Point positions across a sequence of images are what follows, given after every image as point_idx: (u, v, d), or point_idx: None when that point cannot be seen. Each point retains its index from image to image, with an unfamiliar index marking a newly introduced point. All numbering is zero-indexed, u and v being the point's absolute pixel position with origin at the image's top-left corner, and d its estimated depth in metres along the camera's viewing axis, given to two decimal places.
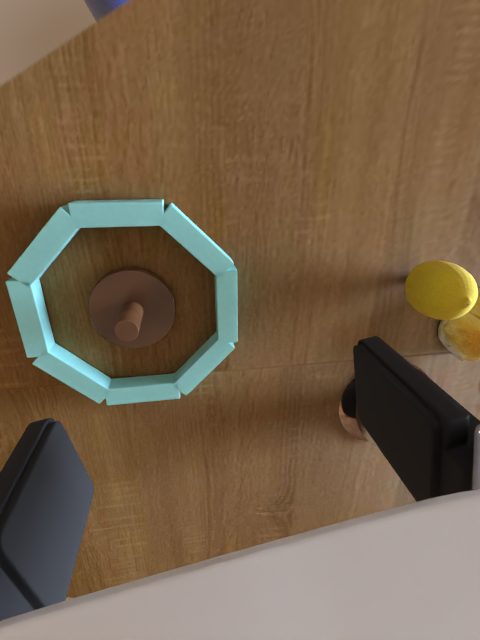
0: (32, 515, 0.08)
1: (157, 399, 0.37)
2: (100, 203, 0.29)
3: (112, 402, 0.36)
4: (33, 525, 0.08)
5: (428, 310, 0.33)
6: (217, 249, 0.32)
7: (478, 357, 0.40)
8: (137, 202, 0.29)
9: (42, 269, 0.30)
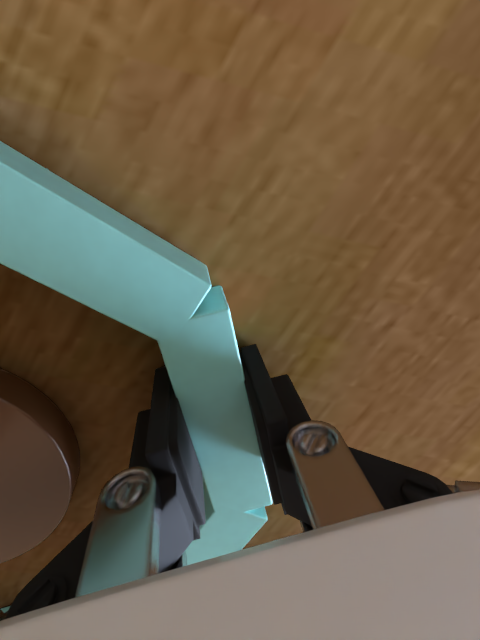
0: (183, 436, 0.09)
1: None
2: None
3: None
4: (185, 444, 0.09)
5: None
6: (260, 462, 0.11)
7: None
8: (134, 243, 0.08)
9: None
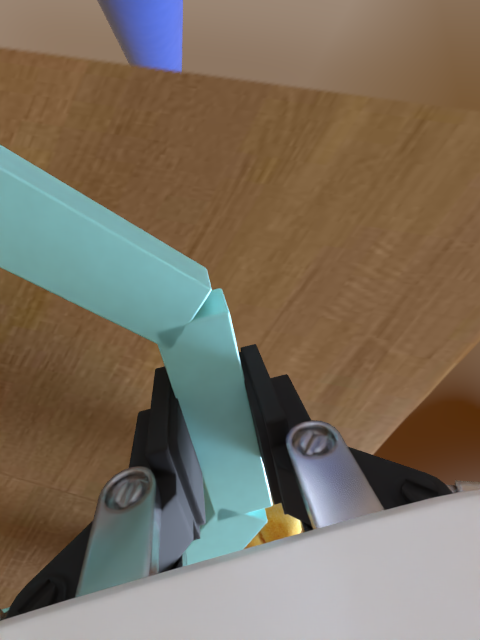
0: (183, 436, 0.09)
1: None
2: None
3: None
4: (185, 444, 0.09)
5: None
6: (260, 465, 0.11)
7: None
8: (135, 247, 0.08)
9: None
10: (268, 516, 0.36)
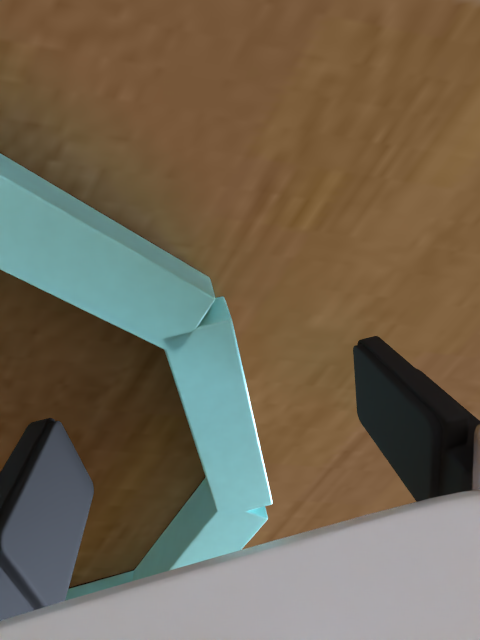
0: (32, 515, 0.08)
1: None
2: (21, 191, 0.08)
3: None
4: (33, 525, 0.08)
5: None
6: (260, 464, 0.12)
7: None
8: (144, 260, 0.09)
9: None
10: None
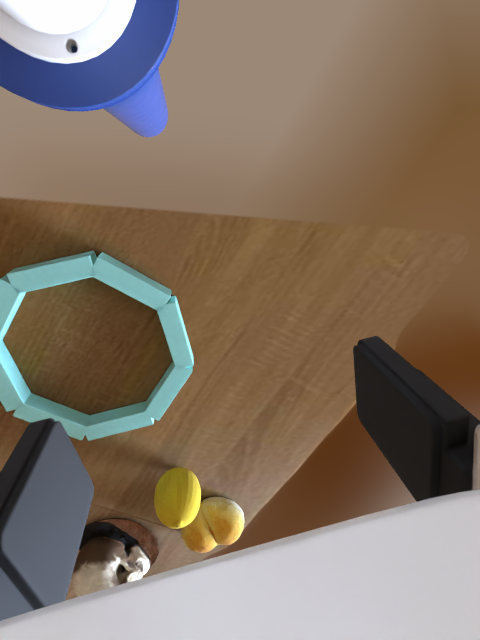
0: (32, 515, 0.08)
1: None
2: (123, 271, 0.33)
3: (19, 415, 0.37)
4: (33, 525, 0.08)
5: (156, 511, 0.40)
6: (188, 349, 0.37)
7: None
8: (151, 286, 0.34)
9: (39, 288, 0.32)
10: (215, 513, 0.47)
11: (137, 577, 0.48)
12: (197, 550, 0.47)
